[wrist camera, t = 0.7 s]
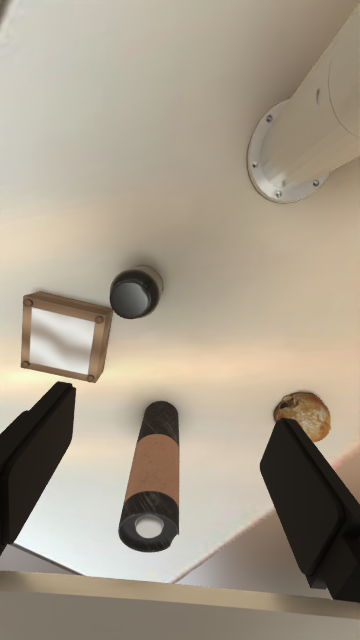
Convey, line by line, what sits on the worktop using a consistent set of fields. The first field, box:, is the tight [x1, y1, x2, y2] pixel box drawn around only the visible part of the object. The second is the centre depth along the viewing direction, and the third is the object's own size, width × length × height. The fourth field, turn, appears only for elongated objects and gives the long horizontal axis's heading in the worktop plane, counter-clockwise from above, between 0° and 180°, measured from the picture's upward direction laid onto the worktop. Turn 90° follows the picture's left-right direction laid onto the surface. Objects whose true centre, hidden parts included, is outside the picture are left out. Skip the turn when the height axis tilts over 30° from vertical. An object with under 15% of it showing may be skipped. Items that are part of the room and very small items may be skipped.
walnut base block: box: [21, 292, 113, 383], centre depth 37 cm, size 13×13×4 cm
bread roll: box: [275, 393, 331, 442], centre depth 43 cm, size 10×10×8 cm
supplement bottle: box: [110, 266, 163, 319], centre depth 31 cm, size 7×7×12 cm
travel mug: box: [118, 401, 179, 552], centre depth 35 cm, size 8×8×20 cm
